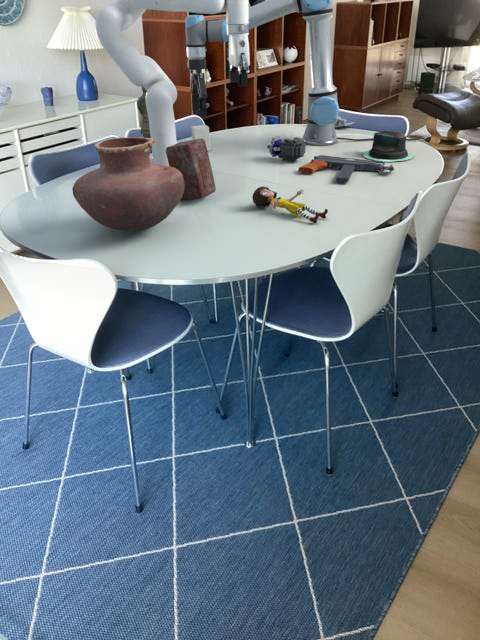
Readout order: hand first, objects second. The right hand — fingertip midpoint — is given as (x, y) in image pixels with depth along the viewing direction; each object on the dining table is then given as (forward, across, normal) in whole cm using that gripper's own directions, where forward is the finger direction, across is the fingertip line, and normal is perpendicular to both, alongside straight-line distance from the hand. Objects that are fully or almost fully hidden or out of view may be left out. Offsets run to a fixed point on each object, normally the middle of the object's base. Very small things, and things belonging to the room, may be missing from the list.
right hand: (199, 113), depth 236 cm
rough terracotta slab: (+15, -55, +29) cm, 64 cm away
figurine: (+15, -90, -5) cm, 91 cm away
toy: (+15, -31, -28) cm, 44 cm away
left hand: (-16, -40, -6) cm, 43 cm away
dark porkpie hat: (+15, -40, -69) cm, 81 cm away
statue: (+15, +7, +20) cm, 26 cm away
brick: (+15, 0, 0) cm, 15 cm away
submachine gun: (+15, -57, -40) cm, 72 cm away
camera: (+15, +20, -75) cm, 79 cm away
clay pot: (+15, -86, +42) cm, 97 cm away
